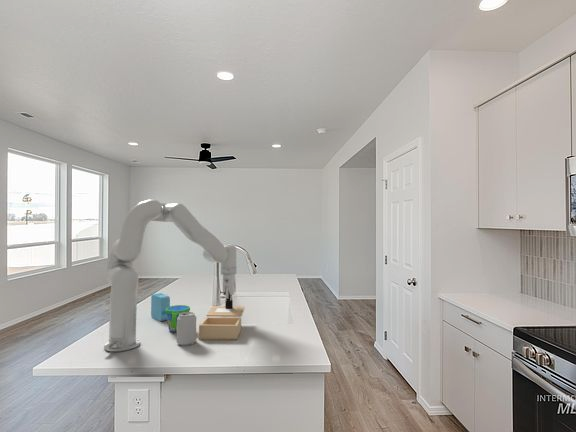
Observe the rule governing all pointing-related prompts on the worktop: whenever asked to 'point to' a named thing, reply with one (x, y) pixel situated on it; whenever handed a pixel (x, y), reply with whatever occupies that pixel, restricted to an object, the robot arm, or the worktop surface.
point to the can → (186, 328)
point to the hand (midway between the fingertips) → (229, 308)
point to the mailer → (220, 328)
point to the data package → (159, 306)
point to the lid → (226, 311)
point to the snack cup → (175, 315)
